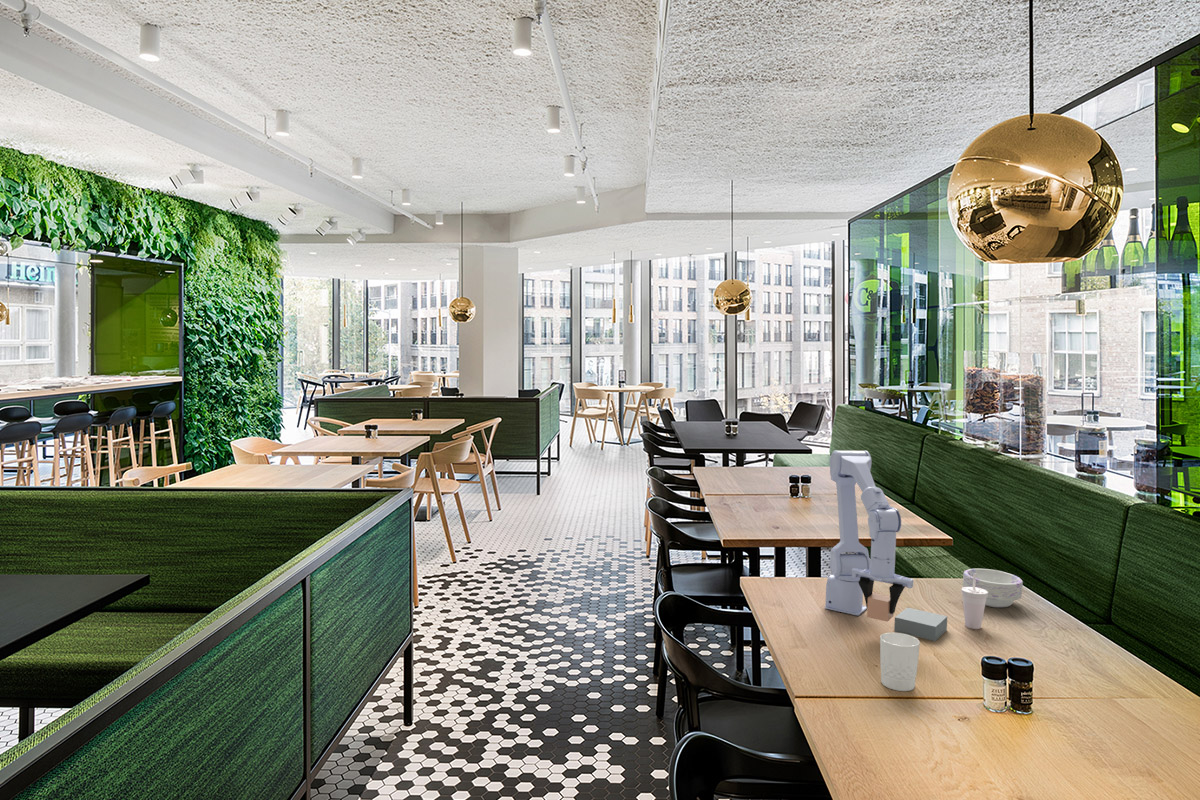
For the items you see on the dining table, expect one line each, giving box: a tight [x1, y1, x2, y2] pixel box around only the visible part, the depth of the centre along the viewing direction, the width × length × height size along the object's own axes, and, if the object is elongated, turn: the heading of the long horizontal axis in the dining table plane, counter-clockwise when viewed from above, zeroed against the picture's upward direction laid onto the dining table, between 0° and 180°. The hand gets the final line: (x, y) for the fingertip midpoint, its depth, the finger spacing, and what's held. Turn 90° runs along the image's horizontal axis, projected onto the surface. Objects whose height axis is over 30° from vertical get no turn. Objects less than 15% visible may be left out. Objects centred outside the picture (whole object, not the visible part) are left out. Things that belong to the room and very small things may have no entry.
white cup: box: [879, 632, 921, 692], centre depth 163 cm, size 8×8×10 cm
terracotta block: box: [866, 592, 895, 622], centre depth 191 cm, size 5×5×5 cm
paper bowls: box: [962, 568, 1024, 608], centre depth 219 cm, size 15×15×8 cm
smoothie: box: [960, 573, 988, 630], centre depth 199 cm, size 6×6×14 cm
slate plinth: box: [893, 606, 948, 642], centre depth 196 cm, size 10×10×4 cm
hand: (880, 610), depth 191 cm, fingers closed on terracotta block, 5 cm apart
